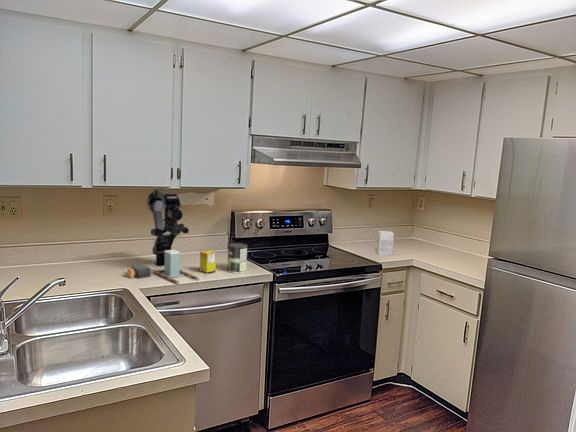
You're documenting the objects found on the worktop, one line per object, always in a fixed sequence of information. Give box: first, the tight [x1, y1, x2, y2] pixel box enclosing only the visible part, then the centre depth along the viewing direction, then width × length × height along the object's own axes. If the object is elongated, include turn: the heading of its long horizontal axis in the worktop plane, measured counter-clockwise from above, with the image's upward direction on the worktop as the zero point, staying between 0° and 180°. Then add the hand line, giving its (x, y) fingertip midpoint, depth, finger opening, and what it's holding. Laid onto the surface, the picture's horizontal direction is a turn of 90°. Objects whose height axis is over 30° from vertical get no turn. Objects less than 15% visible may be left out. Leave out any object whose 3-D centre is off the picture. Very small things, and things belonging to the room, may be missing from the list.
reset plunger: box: [126, 267, 136, 279], centre depth 230 cm, size 4×7×4 cm, turn 134°
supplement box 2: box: [376, 230, 395, 257], centre depth 301 cm, size 9×9×15 cm
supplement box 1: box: [199, 249, 217, 275], centre depth 243 cm, size 6×6×11 cm
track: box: [153, 269, 199, 285], centre depth 232 cm, size 22×12×1 cm, turn 43°
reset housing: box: [130, 264, 151, 279], centre depth 231 cm, size 9×6×4 cm, turn 43°
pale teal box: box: [164, 249, 181, 276], centre depth 234 cm, size 6×5×12 cm
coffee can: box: [227, 242, 248, 274], centre depth 247 cm, size 10×10×14 cm
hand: (169, 247), depth 242 cm, fingers closed
